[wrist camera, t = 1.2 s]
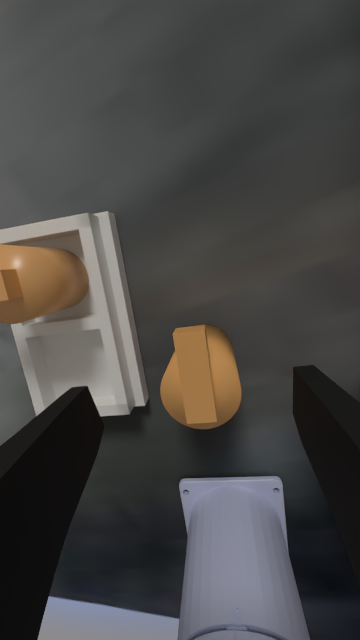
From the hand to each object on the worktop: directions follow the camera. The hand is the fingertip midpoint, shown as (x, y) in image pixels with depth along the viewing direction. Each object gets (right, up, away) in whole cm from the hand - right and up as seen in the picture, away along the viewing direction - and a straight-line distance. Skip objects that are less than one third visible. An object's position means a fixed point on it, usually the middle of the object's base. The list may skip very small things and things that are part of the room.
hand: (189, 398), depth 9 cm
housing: (-8, +3, +11) cm, 14 cm away
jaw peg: (+1, +1, +10) cm, 10 cm away
